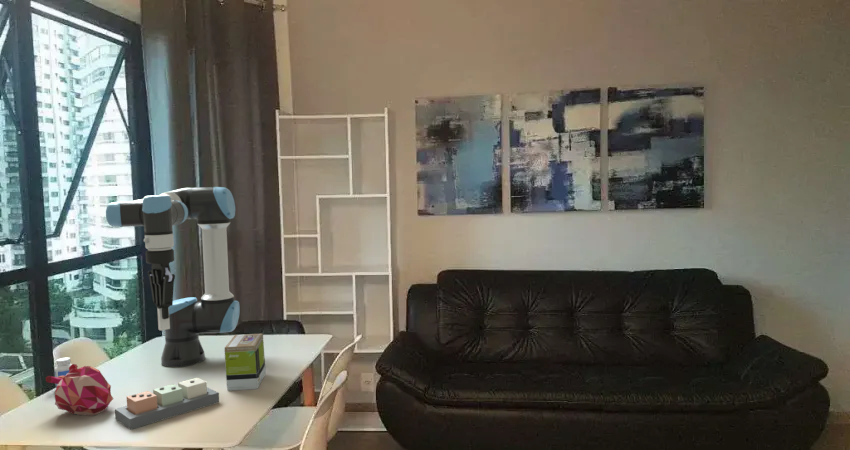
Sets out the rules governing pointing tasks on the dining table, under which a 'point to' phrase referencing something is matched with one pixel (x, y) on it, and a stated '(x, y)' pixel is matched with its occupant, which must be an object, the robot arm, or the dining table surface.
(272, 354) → the dining table surface
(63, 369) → the pill bottle
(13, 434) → the dining table surface
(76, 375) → the sculpture
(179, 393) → the tile two
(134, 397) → the tile three
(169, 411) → the button board
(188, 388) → the tile one
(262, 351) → the tea box
